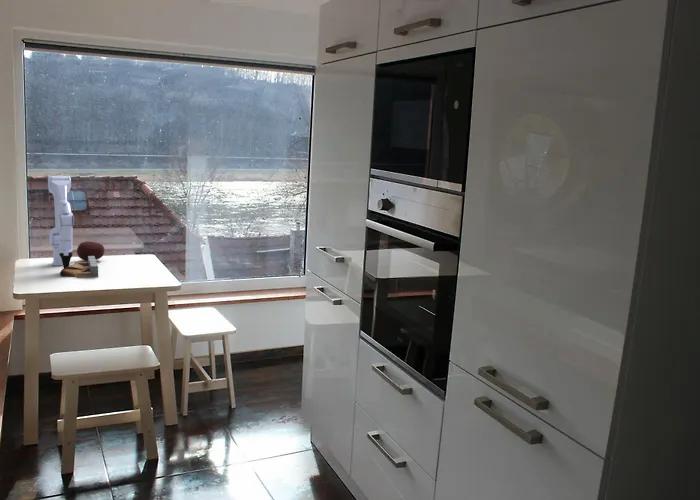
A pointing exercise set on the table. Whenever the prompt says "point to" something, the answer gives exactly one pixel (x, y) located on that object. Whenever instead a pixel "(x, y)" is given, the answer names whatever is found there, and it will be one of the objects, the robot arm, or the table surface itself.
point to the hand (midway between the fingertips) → (66, 268)
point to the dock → (92, 268)
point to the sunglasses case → (73, 270)
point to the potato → (90, 250)
